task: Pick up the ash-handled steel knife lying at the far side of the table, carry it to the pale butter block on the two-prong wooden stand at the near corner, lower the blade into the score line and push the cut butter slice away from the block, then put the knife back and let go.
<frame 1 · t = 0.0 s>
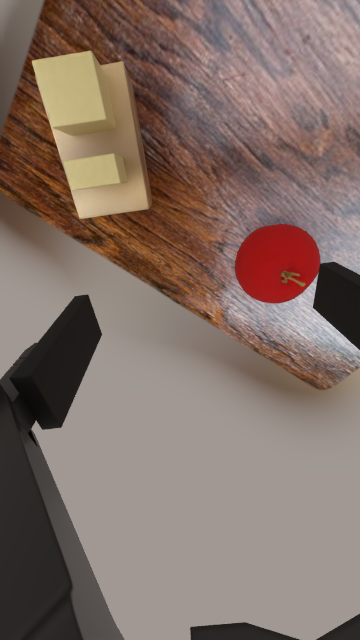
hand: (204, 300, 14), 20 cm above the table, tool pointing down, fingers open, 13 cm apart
butter slice: (104, 173, 22), point 6 cm above the table, touching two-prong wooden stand
butter block: (87, 106, 20), resting on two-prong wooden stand
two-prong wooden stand: (112, 155, 27), on the table
fruit: (262, 254, 33), on the table
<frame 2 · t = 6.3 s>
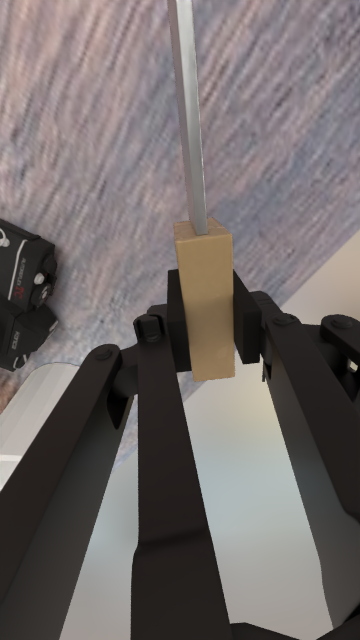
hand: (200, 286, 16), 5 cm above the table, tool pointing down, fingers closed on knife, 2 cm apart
knife: (199, 283, 16), point 4 cm above the table, touching gripper
film camera: (7, 291, 21), on the table
mug: (50, 392, 27), on the table
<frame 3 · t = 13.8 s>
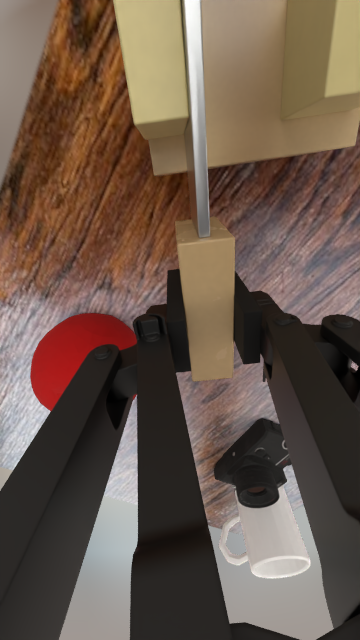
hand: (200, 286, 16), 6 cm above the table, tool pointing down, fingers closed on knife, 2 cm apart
knife: (199, 282, 16), point 6 cm above the table, touching butter slice, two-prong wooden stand, gripper
butter slice: (157, 83, 11), point 6 cm above the table, touching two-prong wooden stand, knife
butter block: (322, 58, 11), resting on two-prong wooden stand
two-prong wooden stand: (227, 104, 16), on the table
film camera: (254, 447, 36), on the table
mug: (246, 489, 42), on the table
fruit: (104, 337, 25), on the table
when the fingers open (0 cm above the table, at t = 22.0 s): knife stays where it is, on the table.
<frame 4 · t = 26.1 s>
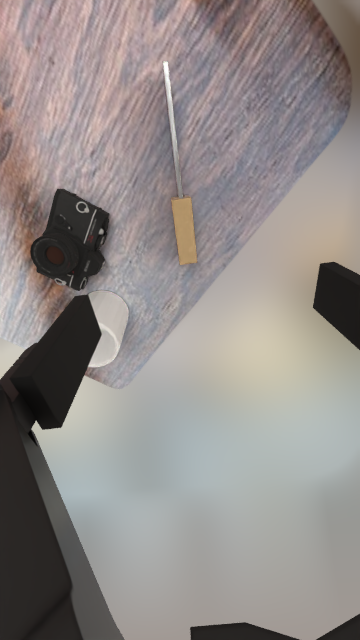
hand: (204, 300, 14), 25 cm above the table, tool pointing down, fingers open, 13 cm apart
knife: (183, 226, 36), on the table
film camera: (77, 242, 36), on the table
mug: (94, 313, 42), on the table
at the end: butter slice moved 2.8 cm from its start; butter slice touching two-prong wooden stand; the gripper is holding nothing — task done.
